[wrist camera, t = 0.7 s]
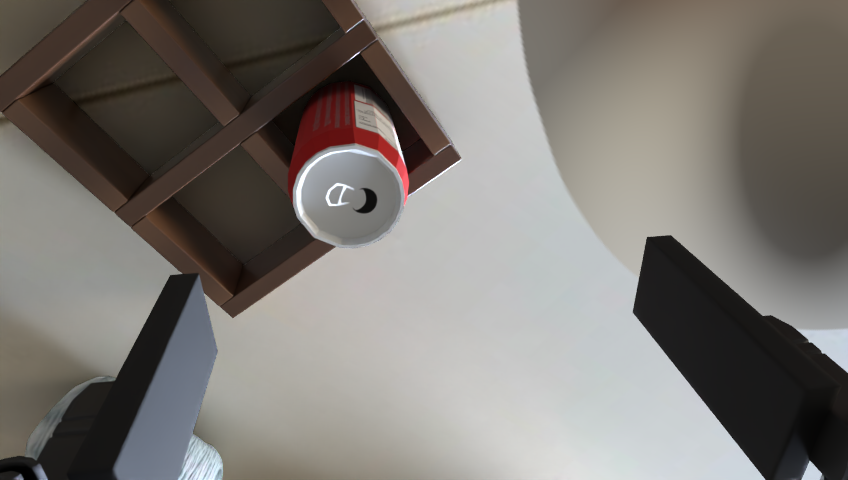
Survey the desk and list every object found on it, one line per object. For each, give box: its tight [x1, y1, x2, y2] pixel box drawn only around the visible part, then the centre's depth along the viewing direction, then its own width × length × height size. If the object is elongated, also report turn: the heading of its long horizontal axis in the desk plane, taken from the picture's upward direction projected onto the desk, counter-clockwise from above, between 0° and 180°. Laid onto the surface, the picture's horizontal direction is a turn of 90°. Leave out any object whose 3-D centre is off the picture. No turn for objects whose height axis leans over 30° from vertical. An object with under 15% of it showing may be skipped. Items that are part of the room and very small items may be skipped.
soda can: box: [288, 81, 409, 248], centre depth 30 cm, size 6×6×12 cm
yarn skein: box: [25, 376, 223, 480], centre depth 40 cm, size 14×10×10 cm
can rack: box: [0, 0, 461, 318], centre depth 32 cm, size 18×18×4 cm
